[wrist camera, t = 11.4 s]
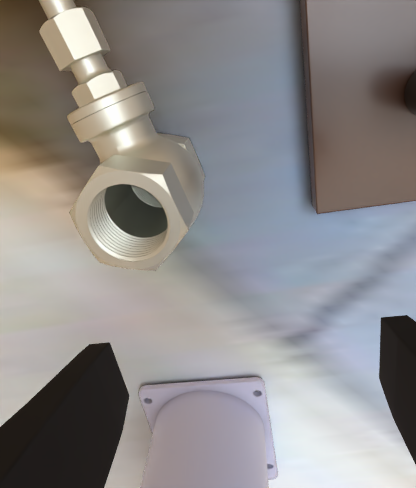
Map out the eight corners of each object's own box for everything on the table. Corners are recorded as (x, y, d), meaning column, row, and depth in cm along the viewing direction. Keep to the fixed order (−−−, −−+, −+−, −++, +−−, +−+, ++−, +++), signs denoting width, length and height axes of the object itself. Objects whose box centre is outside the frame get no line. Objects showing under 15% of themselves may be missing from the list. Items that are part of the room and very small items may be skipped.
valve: (246, 184, 17) (128, -123, 13) (250, 245, 11) (33, -287, 7) (126, 230, 19) (-18, -31, 14) (74, 305, 13) (-197, -100, 8)
